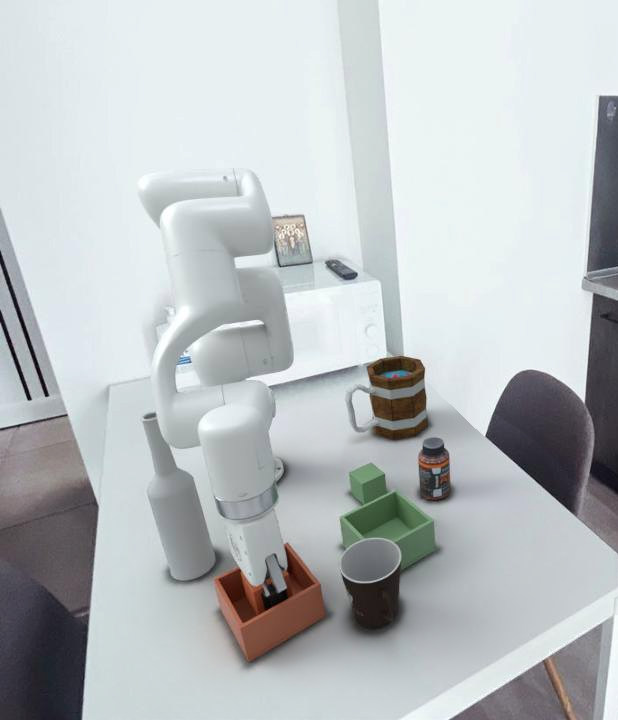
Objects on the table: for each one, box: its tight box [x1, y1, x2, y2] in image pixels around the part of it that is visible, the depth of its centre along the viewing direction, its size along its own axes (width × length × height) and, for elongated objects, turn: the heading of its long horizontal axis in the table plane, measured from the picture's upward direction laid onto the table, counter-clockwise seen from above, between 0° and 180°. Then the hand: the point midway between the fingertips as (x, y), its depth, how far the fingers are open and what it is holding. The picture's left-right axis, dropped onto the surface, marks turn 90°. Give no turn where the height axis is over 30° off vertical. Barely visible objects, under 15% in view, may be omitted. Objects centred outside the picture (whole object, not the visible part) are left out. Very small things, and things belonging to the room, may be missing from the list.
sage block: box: [348, 462, 388, 506], centre depth 104 cm, size 5×5×5 cm
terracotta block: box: [241, 570, 293, 616], centre depth 78 cm, size 5×5×5 cm
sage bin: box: [338, 488, 436, 572], centre depth 91 cm, size 11×11×6 cm
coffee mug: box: [338, 538, 402, 631], centre depth 77 cm, size 12×9×10 cm
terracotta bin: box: [212, 542, 327, 663], centre depth 79 cm, size 11×11×6 cm
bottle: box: [139, 410, 217, 582], centre depth 83 cm, size 7×7×28 cm
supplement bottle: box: [417, 436, 451, 501], centre depth 103 cm, size 6×6×11 cm
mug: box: [344, 355, 429, 441], centre depth 124 cm, size 20×14×15 cm
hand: (269, 597), depth 79 cm, fingers closed on terracotta block, 5 cm apart
